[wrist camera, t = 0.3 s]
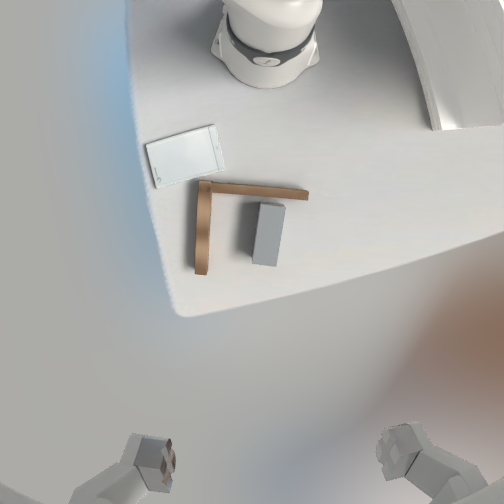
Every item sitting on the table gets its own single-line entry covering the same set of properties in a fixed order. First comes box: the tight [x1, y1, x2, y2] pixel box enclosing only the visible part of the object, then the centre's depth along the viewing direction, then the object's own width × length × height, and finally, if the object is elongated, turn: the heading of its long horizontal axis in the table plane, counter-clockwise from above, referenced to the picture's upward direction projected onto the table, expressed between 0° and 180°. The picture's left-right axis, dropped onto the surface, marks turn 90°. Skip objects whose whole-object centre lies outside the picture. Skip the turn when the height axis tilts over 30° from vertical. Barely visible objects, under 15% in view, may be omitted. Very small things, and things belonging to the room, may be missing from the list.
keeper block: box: [252, 201, 286, 267], centre depth 53 cm, size 10×4×4 cm, turn 172°
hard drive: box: [146, 124, 226, 189], centre depth 50 cm, size 2×8×12 cm
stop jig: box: [195, 180, 309, 275], centre depth 53 cm, size 16×18×2 cm
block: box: [391, 0, 504, 131], centre depth 31 cm, size 35×8×28 cm, turn 13°
